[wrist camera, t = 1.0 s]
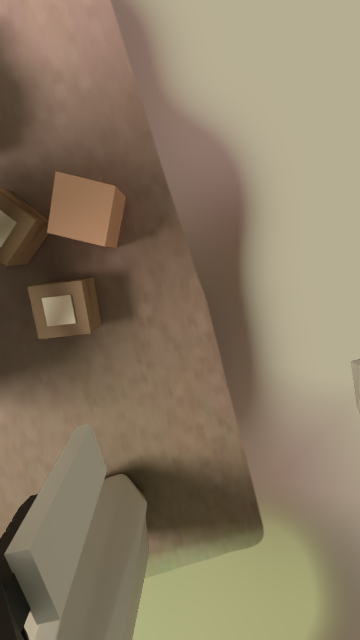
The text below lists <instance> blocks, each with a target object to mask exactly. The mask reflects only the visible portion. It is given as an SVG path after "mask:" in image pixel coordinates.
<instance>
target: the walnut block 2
mask: <svg viewBox="0 0 360 640" xmlns="http://www.w3.org/2000/svg"><path fill="white" fill-rule="evenodd" d="M27 289H28V293H29V298H30V302H31V307H32V311H33V316H34V321H35V325H36V330H37V334H38V339H46V338H55V337H64V336H73V335H82V334H91V333H92V332H93V331H94V330H95V329H97V328H98V327H99V326H100V325H101V324H102V323H101V317H100V311H99V305H98V300H97V294H96V288H95V282H94V277H91V278H83V279H74V280H66V281H57V282H49V283H43V284H38V285H33V286H28V287H27Z"/></svg>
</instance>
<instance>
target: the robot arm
mask: <svg viewBox="0 0 360 640" xmlns="http://www.w3.org/2000/svg"><path fill="white" fill-rule="evenodd" d="M351 364H352V372H353V380H354V387H355V394H356V402H357V409H358V412H359V413H360V359H358V360H354V361H351ZM106 472H107V468H106V465H105V462H104V460H103V457H102V454H101V451H100V448H99V445H98V442H97V439H96V437H95V434H94V431H93V428H92V425H91V423H90V424H86V425H82V426H78V427H76V428H75V430H74V432H73V433H72V435H71V437H70V439H69V441H68V442H67V444H66V446H65V448H64V449H63V451H62V453H61V455H60V456H59V458H58V460H57V462H56V464H55V465H54V467H53V469H52V471H51V472H50V474H49V476H48V478H47V479H46V481H45V483H44V485H43V487H42V488H41V490H40V492H39V494H37V495H32V496H30V497H29V498H28V499H27V500H26V501H25V502H24V503H23V504H22V505H21V506H20V507H19V509H18V511H17V512H16V514H15V516H14V517H13V519H12V522H10V524H9V525H8V527H7V529H6V532H4V534H3V535H2V537H1V539H0V640H29V637H28V634H27V632H26V630H25V627H24V625H25V622H26V620H27V617H28V615H29V612H30V611H31V614H32V616H33V618H34V620H35V622H36V624H37V625H39V624H43V623H48V622H53V621H57V620H61V617H62V613H63V610H64V607H65V604H66V601H67V597H68V594H69V591H70V588H71V585H72V581H73V578H74V575H75V572H76V568H77V565H78V562H79V559H80V556H81V552H82V549H83V546H84V543H85V539H86V536H87V533H88V530H89V527H90V523H91V520H92V517H93V514H94V511H95V507H96V504H97V501H98V498H99V494H100V491H101V488H102V485H103V482H104V478H105V475H106Z"/></svg>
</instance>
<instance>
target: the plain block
mask: <svg viewBox="0 0 360 640" xmlns="http://www.w3.org/2000/svg"><path fill="white" fill-rule="evenodd" d="M125 201H126V196H125V195H124V194H123V193H122V192H121V191H120V190H119V189H118V188H117V187H116V186H114V185H110V184H106V183H102V182H98V181H93V180H89V179H85V178H81V177H77V176H73V175H69V174H65V173H61V172H57V171H55V178H54V186H53V193H52V200H51V208H50V215H49V222H48V229H47V233H50V234H54V235H58V236H62V237H67V238H71V239H75V240H79V241H83V242H87V243H92V244H96V245H100V246H104V247H114V248H117V243H118V238H119V233H120V227H121V222H122V217H123V211H124V206H125Z"/></svg>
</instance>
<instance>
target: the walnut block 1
mask: <svg viewBox="0 0 360 640" xmlns="http://www.w3.org/2000/svg"><path fill="white" fill-rule="evenodd" d="M48 222H49V220H48V219H46V218H45V217H44V216H43V215H41V214H40V213H39V212H37V211H36V210H35V209H33V208H32V207H31V206H30V205H28V204H27V203H26V202H24V201H23V200H22V199H21V198H19V197H18V196H17V195H15V194H14V193H13V192H11V191H8V190H6V189H3V188H0V262H1V263H2V264H4V265H5V266H14V265H28V264H29V262H30V261H31V259H32V258H33V256H34V255H35V253H36V252H37V250H38V249H39V247H40V246H41V244H42V243H43V241H44V240H45V239H46V237H47V236H48V234H49V233H47V229H48Z"/></svg>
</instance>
